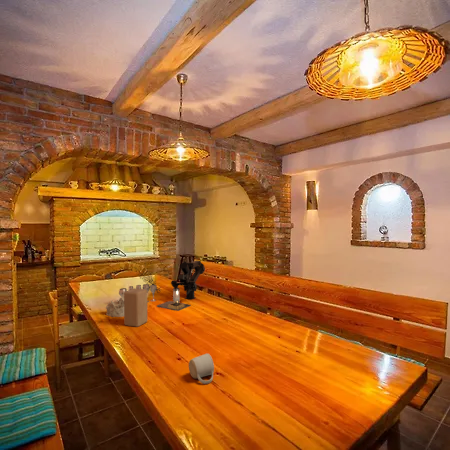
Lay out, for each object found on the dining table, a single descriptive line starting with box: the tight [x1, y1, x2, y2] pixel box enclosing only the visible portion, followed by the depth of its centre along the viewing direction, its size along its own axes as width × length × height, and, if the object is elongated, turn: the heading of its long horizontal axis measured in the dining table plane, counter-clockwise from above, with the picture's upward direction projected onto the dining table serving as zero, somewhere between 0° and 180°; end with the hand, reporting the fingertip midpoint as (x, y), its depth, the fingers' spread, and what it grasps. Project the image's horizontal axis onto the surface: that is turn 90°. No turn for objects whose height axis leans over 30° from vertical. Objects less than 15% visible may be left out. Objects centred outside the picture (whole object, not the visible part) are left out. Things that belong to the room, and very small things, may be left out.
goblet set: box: [118, 283, 157, 303], centre depth 218 cm, size 28×6×13 cm, turn 123°
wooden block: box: [123, 287, 148, 328], centre depth 173 cm, size 10×10×20 cm
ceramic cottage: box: [105, 293, 124, 318], centre depth 194 cm, size 16×16×15 cm
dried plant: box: [121, 259, 163, 294], centre depth 249 cm, size 30×31×45 cm
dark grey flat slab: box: [156, 300, 192, 312], centre depth 209 cm, size 14×20×3 cm
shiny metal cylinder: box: [172, 287, 181, 306], centre depth 204 cm, size 4×4×13 cm
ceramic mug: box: [188, 352, 215, 385], centre depth 112 cm, size 11×8×8 cm
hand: (180, 294), depth 211 cm, fingers open, 9 cm apart
